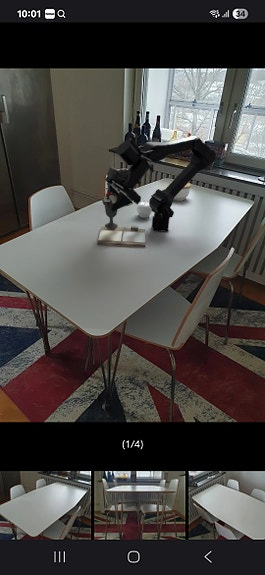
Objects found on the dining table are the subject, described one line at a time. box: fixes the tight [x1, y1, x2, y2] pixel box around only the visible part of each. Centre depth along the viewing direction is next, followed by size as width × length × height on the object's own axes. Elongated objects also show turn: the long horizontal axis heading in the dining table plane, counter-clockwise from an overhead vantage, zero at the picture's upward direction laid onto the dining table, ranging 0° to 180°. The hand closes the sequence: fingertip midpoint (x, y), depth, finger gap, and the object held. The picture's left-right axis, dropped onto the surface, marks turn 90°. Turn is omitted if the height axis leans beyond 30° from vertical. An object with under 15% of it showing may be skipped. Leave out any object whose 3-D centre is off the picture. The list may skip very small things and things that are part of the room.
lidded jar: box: [169, 181, 192, 201], centre depth 163 cm, size 11×11×9 cm
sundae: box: [101, 187, 119, 229], centre depth 116 cm, size 7×7×15 cm
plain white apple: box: [136, 199, 153, 219], centre depth 141 cm, size 7×7×8 cm
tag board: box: [96, 225, 146, 248], centre depth 124 cm, size 18×14×2 cm
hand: (107, 207), depth 116 cm, fingers closed on sundae, 6 cm apart
